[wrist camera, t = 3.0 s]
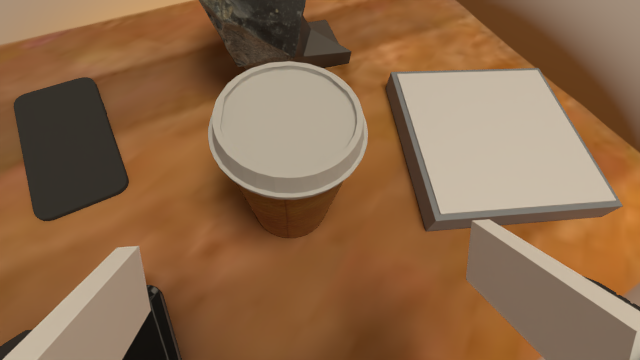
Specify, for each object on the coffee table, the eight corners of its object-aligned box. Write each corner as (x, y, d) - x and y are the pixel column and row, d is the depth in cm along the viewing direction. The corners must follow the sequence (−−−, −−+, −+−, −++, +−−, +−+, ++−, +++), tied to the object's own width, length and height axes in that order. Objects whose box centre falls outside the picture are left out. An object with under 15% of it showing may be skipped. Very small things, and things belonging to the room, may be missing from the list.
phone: (34, 224, 27) (10, 97, 33) (41, 228, 27) (17, 103, 33) (130, 186, 29) (92, 74, 35) (134, 191, 30) (96, 80, 36)
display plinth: (426, 231, 29) (436, 220, 27) (385, 88, 37) (391, 70, 35) (601, 216, 31) (624, 205, 29) (526, 83, 39) (539, 66, 37)
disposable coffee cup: (272, 144, 32) (262, 37, 22) (361, 186, 31) (395, 92, 20) (213, 224, 28) (165, 137, 18) (313, 278, 26) (325, 218, 16)
